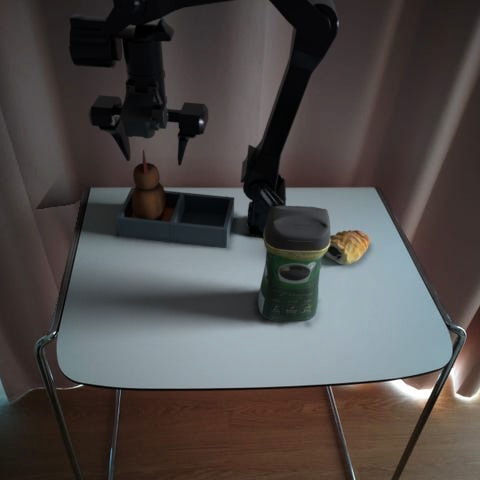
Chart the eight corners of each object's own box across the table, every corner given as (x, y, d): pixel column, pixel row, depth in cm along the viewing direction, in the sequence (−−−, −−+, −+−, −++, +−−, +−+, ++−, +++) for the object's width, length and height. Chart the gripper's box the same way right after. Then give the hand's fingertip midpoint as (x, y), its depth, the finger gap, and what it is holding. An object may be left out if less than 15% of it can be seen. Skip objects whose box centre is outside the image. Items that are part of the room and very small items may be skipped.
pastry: (349, 232, 96) (353, 216, 93) (377, 249, 93) (382, 233, 90) (317, 252, 92) (320, 236, 89) (345, 271, 88) (350, 254, 86)
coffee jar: (313, 291, 84) (332, 198, 71) (317, 326, 79) (338, 232, 65) (257, 289, 84) (265, 195, 71) (256, 323, 79) (265, 228, 65)
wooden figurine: (160, 231, 93) (153, 158, 82) (131, 227, 93) (120, 154, 82) (170, 211, 98) (164, 139, 86) (142, 207, 98) (133, 135, 87)
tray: (234, 214, 99) (234, 197, 96) (226, 247, 92) (227, 230, 89) (133, 204, 100) (131, 187, 97) (119, 236, 93) (116, 218, 90)
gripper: (67, 85, 71) (88, 181, 82) (195, 96, 70) (198, 192, 81) (91, 57, 78) (107, 149, 90) (208, 66, 77) (209, 158, 89)
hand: (154, 162), depth 87 cm, fingers open, 9 cm apart
